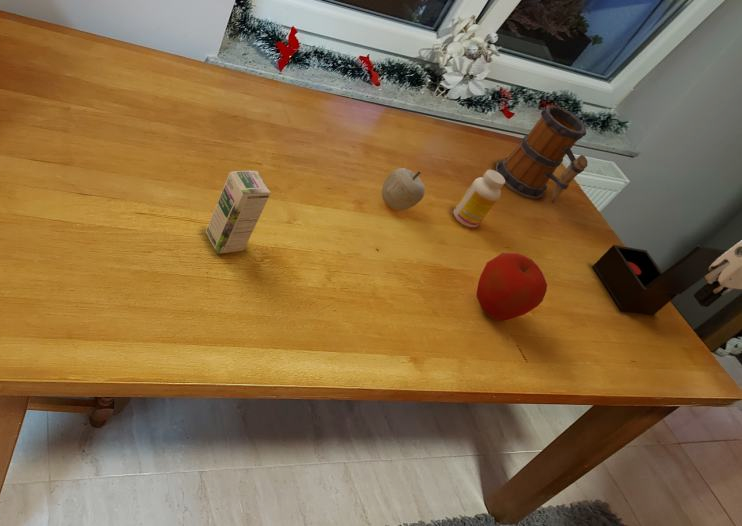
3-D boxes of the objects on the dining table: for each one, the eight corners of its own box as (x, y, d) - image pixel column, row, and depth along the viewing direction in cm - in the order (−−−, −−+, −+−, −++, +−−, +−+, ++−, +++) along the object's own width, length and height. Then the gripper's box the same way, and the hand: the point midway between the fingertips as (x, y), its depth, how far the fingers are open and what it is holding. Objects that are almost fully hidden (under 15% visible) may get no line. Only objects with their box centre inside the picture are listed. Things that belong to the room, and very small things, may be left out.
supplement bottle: (481, 231, 156) (513, 189, 147) (456, 225, 154) (488, 183, 145) (473, 211, 160) (503, 170, 152) (449, 205, 158) (478, 163, 150)
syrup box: (203, 231, 122) (227, 170, 113) (232, 228, 126) (258, 169, 116) (216, 254, 119) (242, 194, 110) (245, 251, 123) (272, 192, 113)
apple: (451, 299, 135) (491, 251, 125) (479, 279, 143) (518, 232, 134) (500, 344, 131) (544, 297, 121) (525, 320, 139) (569, 274, 130)
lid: (698, 245, 138) (700, 248, 138) (733, 251, 142) (735, 254, 142) (644, 286, 149) (646, 289, 148) (678, 291, 153) (680, 294, 152)
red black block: (627, 283, 162) (642, 269, 159) (625, 291, 159) (640, 277, 156) (613, 273, 163) (627, 259, 159) (610, 281, 160) (624, 266, 156)
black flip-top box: (591, 266, 163) (613, 244, 158) (623, 271, 167) (646, 250, 162) (620, 311, 154) (644, 289, 149) (653, 315, 158) (678, 294, 153)
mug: (565, 211, 177) (617, 151, 164) (529, 213, 169) (580, 151, 156) (520, 161, 187) (566, 102, 174) (484, 161, 180) (529, 99, 167)
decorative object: (368, 200, 148) (389, 165, 141) (386, 186, 154) (406, 152, 148) (401, 225, 146) (424, 190, 139) (417, 209, 152) (439, 176, 146)
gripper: (759, 250, 125) (685, 312, 137) (810, 260, 130) (734, 318, 142) (734, 221, 129) (664, 284, 142) (784, 232, 135) (713, 291, 147)
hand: (700, 301), depth 142 cm, fingers closed
